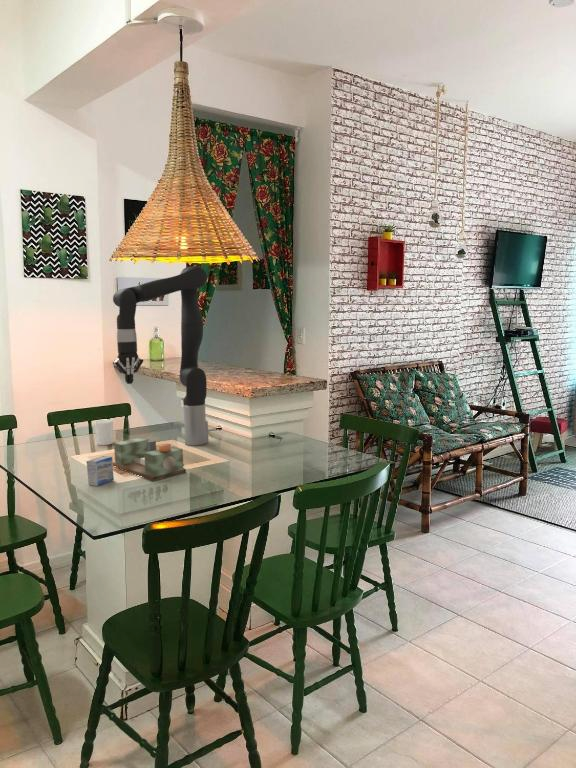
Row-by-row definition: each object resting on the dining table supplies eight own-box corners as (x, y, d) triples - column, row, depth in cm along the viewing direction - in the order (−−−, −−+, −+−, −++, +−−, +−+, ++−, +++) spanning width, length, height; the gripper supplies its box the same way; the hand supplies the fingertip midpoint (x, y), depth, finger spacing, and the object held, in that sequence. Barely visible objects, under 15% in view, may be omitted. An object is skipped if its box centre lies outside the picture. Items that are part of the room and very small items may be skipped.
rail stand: (145, 459, 250) (144, 436, 249) (186, 473, 230) (185, 448, 229) (112, 466, 241) (111, 443, 240) (152, 481, 220) (151, 456, 219)
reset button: (166, 448, 228) (166, 443, 228) (173, 450, 225) (172, 445, 225) (157, 450, 226) (156, 445, 225) (163, 452, 223) (163, 447, 222)
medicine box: (97, 486, 216) (95, 461, 215) (87, 485, 218) (86, 460, 217) (114, 480, 223) (112, 456, 222) (104, 478, 225) (103, 455, 224)
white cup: (106, 440, 284) (105, 418, 282) (118, 442, 279) (116, 420, 278) (92, 444, 278) (90, 421, 276) (103, 446, 273) (102, 423, 272)
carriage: (159, 463, 237) (158, 438, 236) (168, 466, 233) (167, 441, 231) (140, 467, 232) (139, 442, 230) (149, 470, 227) (148, 445, 226)
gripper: (136, 338, 259) (139, 381, 262) (107, 341, 250) (109, 384, 253) (146, 339, 254) (148, 382, 257) (116, 342, 245) (119, 386, 248)
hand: (129, 383), depth 255 cm, fingers closed
